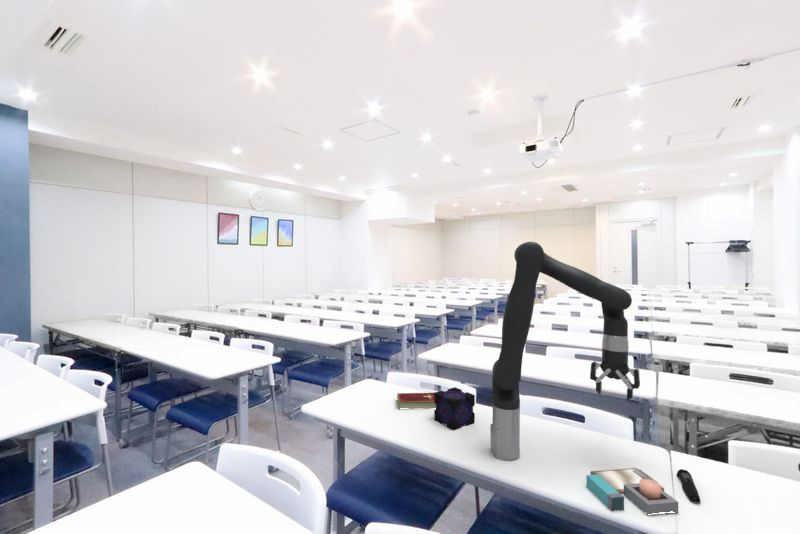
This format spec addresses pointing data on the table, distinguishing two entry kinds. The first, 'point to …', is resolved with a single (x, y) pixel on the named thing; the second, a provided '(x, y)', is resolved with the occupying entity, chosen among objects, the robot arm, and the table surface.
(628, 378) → the robot arm
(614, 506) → the teal rectangular block
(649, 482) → the brown egg
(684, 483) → the electric trimmer
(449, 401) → the energy cube
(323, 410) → the table surface
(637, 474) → the clipboard
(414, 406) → the hardcover book
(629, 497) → the collar
